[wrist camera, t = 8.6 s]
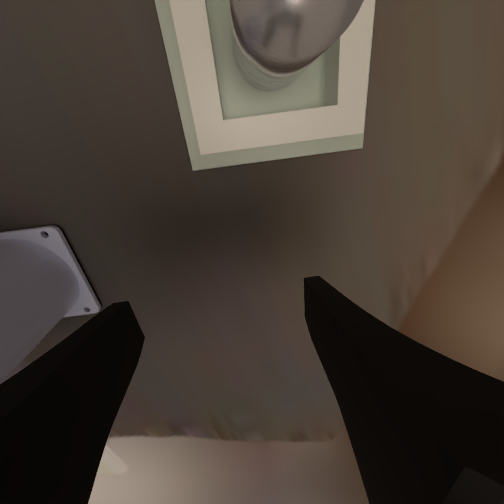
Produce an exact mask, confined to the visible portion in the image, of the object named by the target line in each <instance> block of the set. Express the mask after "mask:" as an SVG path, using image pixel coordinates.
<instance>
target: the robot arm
mask: <svg viewBox="0 0 504 504" xmlns="http://www.w3.org/2000/svg"><path fill="white" fill-rule="evenodd" d="M44 231H45V232H47V233H48V235H49V236H48V235H46V234H45V232H44ZM304 302H305V319H306V322H307V326H308V329H309V333H310V336H311V339H312V342H313V344H314V346H315V349H316V351H317V354H318V356H319V358H320V361H321V363H322V365H323V368H324V370H325V372H326V375H327V377H328V380H329V382H330V384H331V387H332V389H333V391H334V394H335V396H336V399H337V402H338V404H339V407H340V410H341V413H342V416H343V420H344V423H345V426H346V429H347V432H348V435H349V438H350V441H351V444H352V448H353V451H354V454H355V457H356V460H357V463H358V467H359V470H360V474H361V477H362V480H363V484H364V487H365V490H366V493H367V497H368V501H369V504H504V382H503V381H500V380H498V379H495V378H493V377H491V376H489V375H486V374H484V373H481V372H479V371H477V370H474V369H472V368H470V367H468V366H465V365H463V364H461V363H459V362H456V361H454V360H452V359H450V358H448V357H446V356H444V355H442V354H440V353H438V352H436V351H434V350H432V349H430V348H428V347H426V346H424V345H422V344H420V343H418V342H416V341H414V340H412V339H411V338H409V337H407V336H405V335H403V334H402V333H400V332H398V331H396V330H395V329H393V328H391V327H389V326H388V325H386V324H385V323H383V322H381V321H380V320H378V319H377V318H375V317H374V316H372V315H371V314H369V313H368V312H366V311H365V310H363V309H362V308H360V307H359V306H357V305H356V304H355V303H353V302H352V301H351V300H349V299H348V298H347V297H345V296H344V295H343V294H341V293H340V292H339V291H337V290H336V289H335V288H334V287H332V286H331V285H330V284H329V283H327V282H326V281H325V280H324V279H322V278H321V277H320V276H314V277H307V278H304ZM88 308H89V309H88ZM100 309H101V305H100V303H99V301H98V300H97V298H96V296H95V294H94V292H93V290H92V288H91V286H90V284H89V282H88V280H87V279H86V277H85V275H84V273H83V271H82V269H81V267H80V265H79V263H78V261H77V260H76V258H75V256H74V254H73V252H72V250H71V248H70V246H69V244H68V242H67V241H66V239H65V237H64V235H63V233H62V231H61V230H60V228H58V227H57V226H52V225H51V226H43V227H36V228H28V229H21V230H13V231H6V232H0V504H88V501H89V498H90V494H91V491H92V487H93V484H94V481H95V477H96V474H97V470H98V467H99V464H100V461H101V457H102V454H103V451H104V448H105V445H106V442H107V438H108V435H109V433H110V430H111V427H112V425H113V422H114V420H115V417H116V415H117V412H118V410H119V408H120V405H121V403H122V401H123V398H124V396H125V393H126V391H127V389H128V386H129V384H130V381H131V379H132V376H133V374H134V372H135V369H136V367H137V364H138V361H139V358H140V354H141V351H142V347H143V343H144V339H145V337H144V334H143V332H142V330H141V328H140V326H139V323H138V321H137V319H136V317H135V315H134V312H133V310H132V308H131V306H130V304H129V301H126V302H118V303H113V304H111V305H110V306H108V307H107V308H105V309H104V310H103V311H101V312H100V313H98V312H99V311H100ZM93 313H98V314H97V315H96V316H94V317H93V318H92V319H90V320H89V321H88V322H86V323H85V324H84V325H83V326H81V327H80V328H79V329H77V330H76V331H75V332H73V333H72V334H71V335H69V336H68V337H67V338H65V339H64V340H63V341H61V342H60V343H59V344H57V345H56V346H55V347H53V348H52V349H50V350H49V351H48V352H46V353H45V354H44V355H42V356H41V357H39V358H38V359H37V360H35V361H34V362H32V363H31V364H30V365H28V366H27V367H25V368H24V369H22V370H21V371H20V372H18V373H17V374H15V375H14V376H12V377H11V378H9V379H8V380H6V381H4V380H5V379H6V378H7V377H8V376H9V375H10V373H11V372H12V371H13V370H14V369H15V368H16V367H17V366H18V365H19V364H20V363H21V362H22V361H23V360H24V358H25V357H26V356H27V355H28V354H29V353H30V352H31V351H32V350H33V349H34V348H35V347H36V346H37V344H38V343H39V342H40V341H41V340H42V339H43V338H44V337H45V336H46V335H47V334H48V333H49V332H50V331H51V329H52V328H53V327H54V326H55V325H56V324H57V323H58V322H59V321H60V320H61V319H62V318H63V317H70V316H78V315H85V314H93ZM3 381H4V382H3ZM2 382H3V383H2Z"/></svg>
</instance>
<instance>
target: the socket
mask: <svg viewBox="0 0 504 504" xmlns="http://www.w3.org/2000/svg"><path fill="white" fill-rule="evenodd" d="M155 4H156V9H157V13H158V17H159V22H160V26H161V31H162V35H163V40H164V44H165V49H166V53H167V58H168V62H169V67H170V71H171V76H172V80H173V85H174V89H175V93H176V98H177V102H178V107H179V111H180V116H181V120H182V125H183V129H184V134H185V138H186V143H187V147H188V152H189V156H190V161H191V165H192V170H193V171H195V170H202V169H210V168H217V167H225V166H232V165H240V164H247V163H255V162H262V161H270V160H277V159H285V158H292V157H300V156H307V155H314V154H322V153H329V152H337V151H344V150H352V149H359V148H363V137H364V125H365V114H366V102H367V91H368V80H369V68H370V57H371V45H372V34H373V22H374V11H375V0H364V1H363V3H362V5H361V7H360V9H359V12H358V13H357V15H356V17H355V18H354V20H353V22H352V23H351V24H350V26H349V27H348V28H347V30H346V31H345V32H344V33H343V34H342V35H341V36H340V37H339V38H338V39H337V40H336V41H335V42H334V43H333V44H332V45H331V46H330V47H329V48H328V49H327V50H326V51H325V52H324V53H322V54H321V55H320V56H319V57H318V58H317V59H316V60H315V61H314V62H313V63H312V64H311V65H310V66H309V67H308V68H307V69H306V70H304V71H303V72H302V73H301V74H300V75H299V76H298V77H297V78H296V79H295V80H294V81H293V82H292V83H291V84H289V85H288V86H287V87H285V88H283V89H281V90H278V91H273V92H266V91H261V90H258V89H256V88H254V87H253V86H251V85H250V84H249V83H248V82H247V81H246V80H245V79H244V78H243V76H242V75H241V73H240V72H239V70H238V67H237V65H236V62H235V58H234V52H233V40H232V26H231V12H230V0H155Z"/></svg>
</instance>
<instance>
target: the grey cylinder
mask: <svg viewBox="0 0 504 504" xmlns="http://www.w3.org/2000/svg"><path fill="white" fill-rule="evenodd" d="M363 1H364V0H230V12H231V26H232V40H233V52H234V58H235V62H236V65H237V67H238V70H239V72H240V73H241V75H242V76H243V78H244V79H245V80H246V81H247V82H248V83H249V84H250V85H251V86H253V87H254V88H256V89H258V90H261V91H266V92H273V91H278V90H281V89H283V88H285V87H287V86H288V85H289V84H291V83H292V82H293V81H294V80H295V79H296V78H297V77H298V76H299V75H300V74H301V73H302V72H303V71H304V70H306V69H307V68H308V67H309V66H310V65H311V64H312V63H313V62H314V61H315V60H316V59H317V58H318V57H319V56H320V55H321V54H322V53H324V52H325V51H326V50H327V49H328V48H329V47H330V46H331V45H332V44H333V43H334V42H335V41H336V40H337V39H338V38H339V37H340V36H341V35H342V34H343V33H344V32H345V31H346V30H347V28H348V27H349V26H350V24H351V23H352V22H353V20H354V18H355V17H356V15H357V13H358V12H359V9H360V7H361V5H362V3H363Z"/></svg>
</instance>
